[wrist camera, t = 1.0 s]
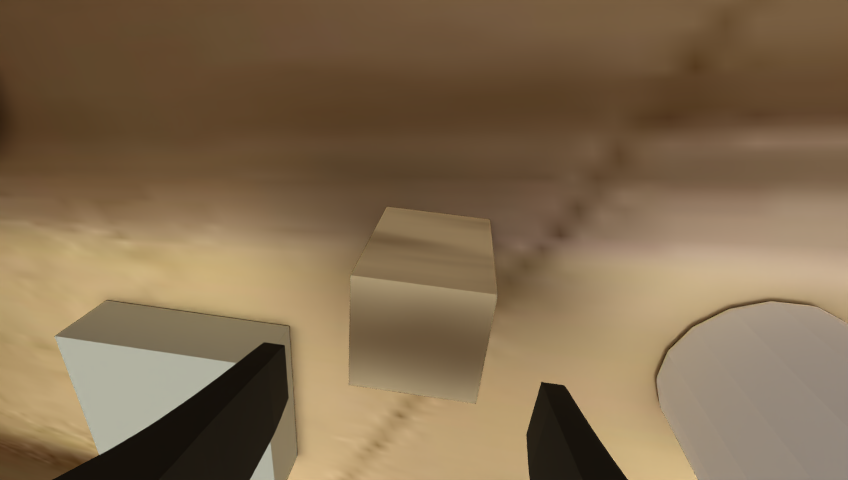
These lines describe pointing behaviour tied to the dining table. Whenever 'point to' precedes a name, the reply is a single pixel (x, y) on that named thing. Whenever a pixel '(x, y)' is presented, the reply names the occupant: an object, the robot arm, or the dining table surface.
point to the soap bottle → (761, 394)
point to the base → (164, 370)
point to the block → (423, 305)
